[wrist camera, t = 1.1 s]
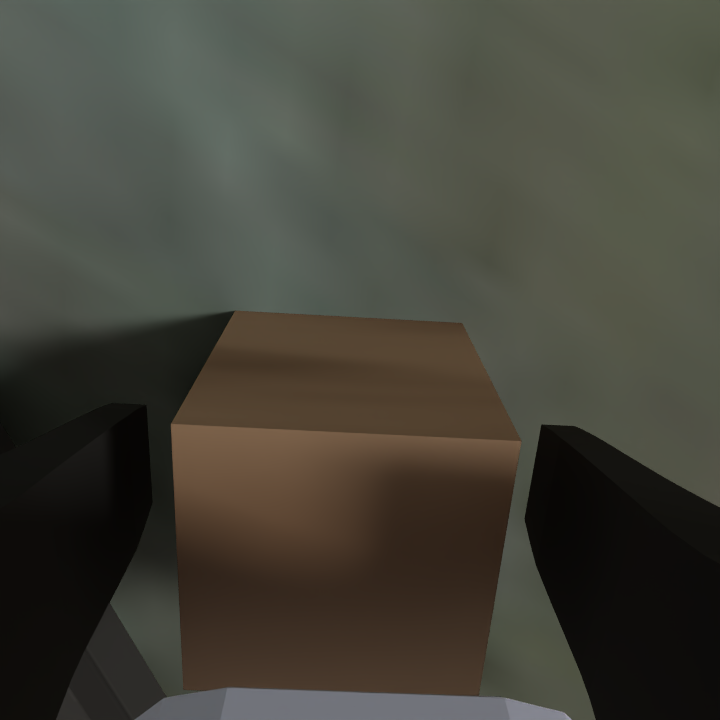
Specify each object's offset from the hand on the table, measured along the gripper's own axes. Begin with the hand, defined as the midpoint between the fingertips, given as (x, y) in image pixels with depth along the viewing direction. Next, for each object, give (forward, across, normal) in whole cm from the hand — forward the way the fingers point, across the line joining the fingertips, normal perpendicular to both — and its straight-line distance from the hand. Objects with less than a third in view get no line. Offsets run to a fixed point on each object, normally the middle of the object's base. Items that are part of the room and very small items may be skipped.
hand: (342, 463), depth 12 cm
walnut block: (+2, 0, 0) cm, 2 cm away
